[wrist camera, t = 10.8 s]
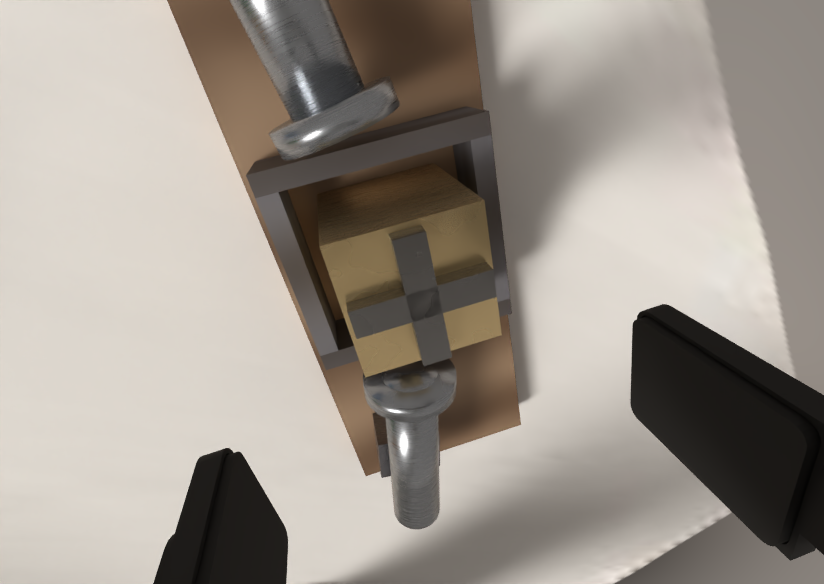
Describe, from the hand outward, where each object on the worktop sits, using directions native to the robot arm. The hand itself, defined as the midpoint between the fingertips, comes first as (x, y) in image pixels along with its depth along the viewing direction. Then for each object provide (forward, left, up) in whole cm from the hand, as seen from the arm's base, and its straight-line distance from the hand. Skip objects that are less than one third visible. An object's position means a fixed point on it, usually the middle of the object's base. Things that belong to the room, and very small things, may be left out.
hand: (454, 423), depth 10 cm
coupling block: (+1, 0, -11) cm, 11 cm away
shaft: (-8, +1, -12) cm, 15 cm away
